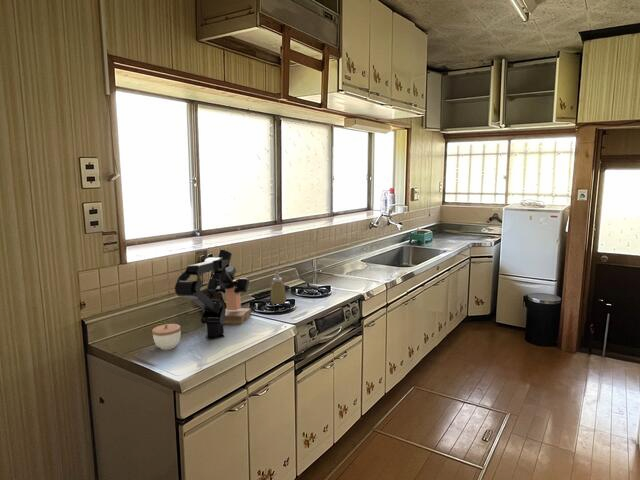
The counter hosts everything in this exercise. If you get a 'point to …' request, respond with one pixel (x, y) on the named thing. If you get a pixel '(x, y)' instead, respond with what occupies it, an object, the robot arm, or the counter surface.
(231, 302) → the tall terracotta block
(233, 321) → the walnut base block
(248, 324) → the counter surface
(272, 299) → the squeeze bottle
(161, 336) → the lidded jar
